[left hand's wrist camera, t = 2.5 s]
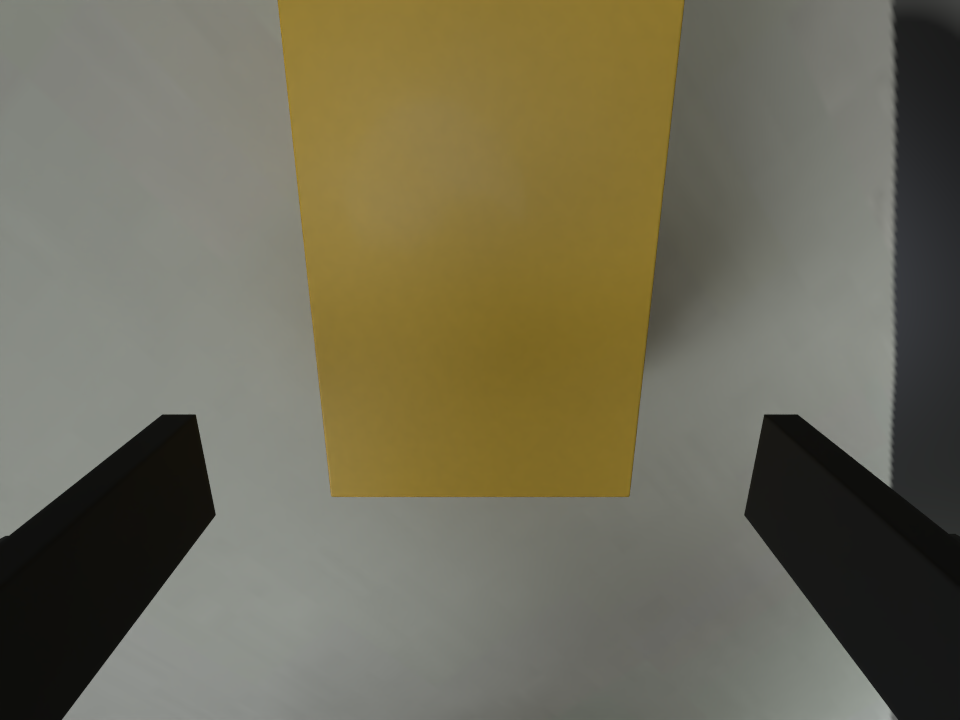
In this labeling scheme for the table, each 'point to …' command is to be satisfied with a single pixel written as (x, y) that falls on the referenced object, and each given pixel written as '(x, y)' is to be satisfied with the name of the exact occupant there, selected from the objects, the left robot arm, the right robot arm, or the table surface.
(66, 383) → the table surface
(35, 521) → the left robot arm
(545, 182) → the yellow two-tone block
